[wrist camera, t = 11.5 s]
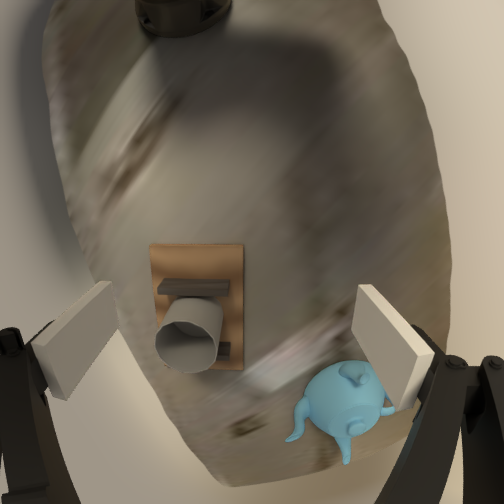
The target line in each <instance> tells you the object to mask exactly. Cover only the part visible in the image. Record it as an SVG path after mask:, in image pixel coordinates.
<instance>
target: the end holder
mask: <svg viewBox="0 0 504 504" xmlns="http://www.w3.org/2000/svg"><path fill="white" fill-rule="evenodd" d="M149 249H150V261H151V271H152V281H153V290H154V299H155V307H156V314H157V322H158V328H159V326H160V324H161V323H162V321H163V319H164V317H165V315H166V313H167V311H168V310H169V308H170V306H171V304H172V302H173V301H174V300H175V298H176V297H177V296H178V295H181V296H214V297H215V298H216V299H217V300H218V301H219V302H220V303H221V306H222V310H223V313H224V315H223V321H222V327H221V333H220V339H219V346H218V351H217V356H216V361H215V362H214V363H213V364H212V365H211V366H210V367H209V368H208V369H221V370H243V245H221V244H151V245H150V246H149ZM164 365H165V366H167V365H166V364H165V363H164Z"/></svg>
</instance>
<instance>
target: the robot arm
mask: <svg viewBox="0 0 504 504" xmlns="http://www.w3.org/2000/svg"><path fill="white" fill-rule="evenodd" d="M230 3H231V0H135V11H136V15H137V17H138V19H139V21H140V22H141V24H142V25H143V26H144V27H145V28H146V29H147V30H148V31H149V32H151V33H153V34H155V35H158V36H162V37H168V38H177V37H185V36H190V35H193V34H196V33H199V32H201V31H204V30H206V29H207V28H209V27H211V26H212V25H214V24H215V23H216V22H218V21H219V20H220V19H221V18H222V17H223V16H224V14H225V13H226V12H227V10H228V8H229V6H230ZM119 326H120V325H119V320H118V314H117V309H116V303H115V298H114V292H113V285H112V281H99V282H98V283H97V284H96V285H95V286H93V287H92V288H91V289H90V290H89V291H88V292H86V293H85V294H84V295H83V296H82V297H81V298H79V299H78V300H77V301H76V302H75V303H74V304H72V305H71V306H70V307H69V308H68V309H67V310H66V311H65V312H63V313H62V314H61V315H60V316H59V317H58V318H57V319H55V320H53V321H51V322H49V323H48V324H47V325H46V326H45V327H44V328H43V330H40V331H39V332H38V334H36V335H35V336H34V337H33V338H32V339H31V340H30V341H28V342H27V343H26V344H25V345H24V342H23V339H22V336H21V333H20V330H19V329H17V328H14V327H10V328H5V329H2V330H1V331H0V467H1V457H2V453H3V460H4V467H5V473H6V478H7V484H8V489H9V492H8V493H5V494H2V497H1V499H2V504H81V502H80V500H79V497H78V495H77V493H76V490H75V488H74V486H73V483H72V480H71V478H70V475H69V473H68V470H67V467H66V464H65V461H64V458H63V456H62V453H61V449H60V446H59V443H58V439H57V436H56V432H55V429H54V425H53V421H52V417H51V413H50V409H49V404H48V400H47V397H46V395H45V392H44V391H45V390H46V389H47V387H49V389H50V391H51V394H52V396H53V397H55V398H58V399H62V400H65V401H67V400H68V398H69V397H70V395H71V394H72V392H73V391H74V389H75V388H76V386H77V385H78V383H79V382H80V380H81V379H82V377H83V376H84V375H85V373H86V372H87V370H88V369H89V367H90V366H91V365H92V363H93V362H94V360H95V359H96V358H97V356H98V355H99V353H100V352H101V350H102V349H103V348H104V347H105V345H106V344H107V342H108V341H109V340H110V338H111V337H112V336H113V334H114V333H115V331H116V330H117V329H118V328H119ZM351 331H352V333H353V334H354V336H355V338H356V340H357V341H358V343H359V345H360V347H361V348H362V350H363V352H364V354H365V355H366V357H367V359H368V361H369V362H370V364H371V366H372V368H373V369H374V371H375V373H376V375H377V377H378V378H379V380H380V382H381V384H382V386H383V387H384V389H385V391H386V393H387V395H388V397H389V399H390V400H391V402H392V404H393V406H394V408H395V410H396V412H397V411H401V410H406V409H410V408H413V406H414V403H415V401H416V399H417V397H418V399H419V400H420V402H421V405H420V407H419V409H418V411H417V413H416V415H415V417H414V419H413V421H412V422H414V423H413V425H412V428H411V430H410V433H409V435H408V437H407V440H406V442H405V444H404V447H403V449H402V451H401V453H400V455H399V458H398V460H397V462H396V464H395V466H394V468H393V470H392V472H391V474H390V476H389V478H388V480H387V482H386V483H385V485H384V487H383V489H382V491H381V493H380V495H379V496H378V498H377V500H376V501H375V503H374V504H439V502H440V499H441V496H442V494H443V491H444V488H445V485H446V482H447V478H448V475H449V472H450V468H451V465H452V461H453V458H454V454H455V450H456V446H457V441H458V436H459V432H460V427H461V435H462V447H463V448H462V449H463V481H464V482H463V504H504V360H503V359H502V358H500V357H498V356H486V357H484V359H483V361H482V363H481V365H480V366H468V364H467V363H466V361H465V360H464V359H462V358H460V357H458V356H455V355H445V353H444V352H443V351H442V350H441V349H440V348H439V347H438V346H437V345H436V344H435V343H434V342H432V339H431V338H430V337H428V335H427V334H426V333H425V332H424V331H423V330H422V329H421V328H419V327H417V326H415V325H409V324H408V323H407V322H406V320H405V319H404V318H403V317H402V316H401V315H400V314H399V313H398V312H397V311H396V310H395V309H394V308H393V307H392V305H391V304H390V303H389V302H388V301H387V300H386V299H385V298H384V297H383V296H382V295H381V294H380V293H379V292H378V291H377V290H376V289H375V288H374V287H373V286H372V285H371V284H369V285H358V290H357V297H356V303H355V310H354V315H353V321H352V327H351Z"/></svg>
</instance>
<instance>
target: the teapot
mask: <svg viewBox="0 0 504 504" xmlns="http://www.w3.org/2000/svg"><path fill="white" fill-rule="evenodd" d="M385 397H386V398H387V399H388V400H389V401H390V403H391V404H392V402H391V400H390V399H389V397H388V395H387V393H386V391H385V389H384V387H383V386H382V384H381V382H380V380H379V378H378V377H377V375H376V373H375V371H374V369H373V368H372V366H371V364H370V363H368V362H365V361H360V360H349V361H342V362H338V363H335V364H333V365H330V366H328V367H326V368H325V369H323V370H322V371H320V372H319V373H318V374H317V375H316V376H315V377H314V378H313V379H312V380H311V381H310V382H309V384H308V385H307V387H306V389H305V392H304V395H303V398H302V399H300V400H299V401H298V403H297V404H296V406H295V409H294V422H295V428H294V431H293V433H292V434H291V435H290V436H289V437H288V438H287V439H286V440H285V442H291V441H294V440H296V439H298V438H300V437H301V436H302V435H303V433H304V430H305V424H304V421H305V419H306V418H307V417H309V418H310V420H311V421H312V422H313V423H314V424H315V425H316V426H317V427H318V428H320V429H321V430H323V431H324V432H326V433H327V434H329V435H331V436H334V438H335V440H336V442H337V444H338V445H339V447H340V449H341V452H342V458H343V464H344V465H347V464H348V463H349V461H350V459H351V437H355V436H358V435H360V434H362V433H364V432H366V431H368V430H369V429H370V428H371V427H373V426H374V424H375V423H376V422H377V421H378V419H379V417H380V415H381V416H387V415H391V414H393V413H394V412H395V411H396V410H395V408H394V406H392V407H389V408H383V404H384V399H385ZM392 405H393V404H392Z"/></svg>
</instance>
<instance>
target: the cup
mask: <svg viewBox="0 0 504 504" xmlns="http://www.w3.org/2000/svg"><path fill="white" fill-rule="evenodd" d="M223 315H224V313H223V310H222V306H221V303H220V302H219V301H218V300H217V299H216V298H215V297H214V296H181V295H178V296H177V297H176V298H175V300H174V301H173V302H172V304H171V306H170V308H169V310H168V311H167V313H166V315H165V317H164V319H163V321H162V323H161V324H160V326H159V328H158V330H157V332H156V334H155V339H154V348H155V350H156V352H157V355H158V357H159V358H160V359H161V360H162V361H163V362H164V363H165V364H166V365H167V366H168V367H170V368H172V369H174V370H177V371H179V372H181V373H198V372H201V371H204V370H207V369H208V368H209V367H210V366H211V365H212V364H213V363H214V362H215V361H216V356H217V351H218V346H219V339H220V333H221V327H222V321H223Z"/></svg>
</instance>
